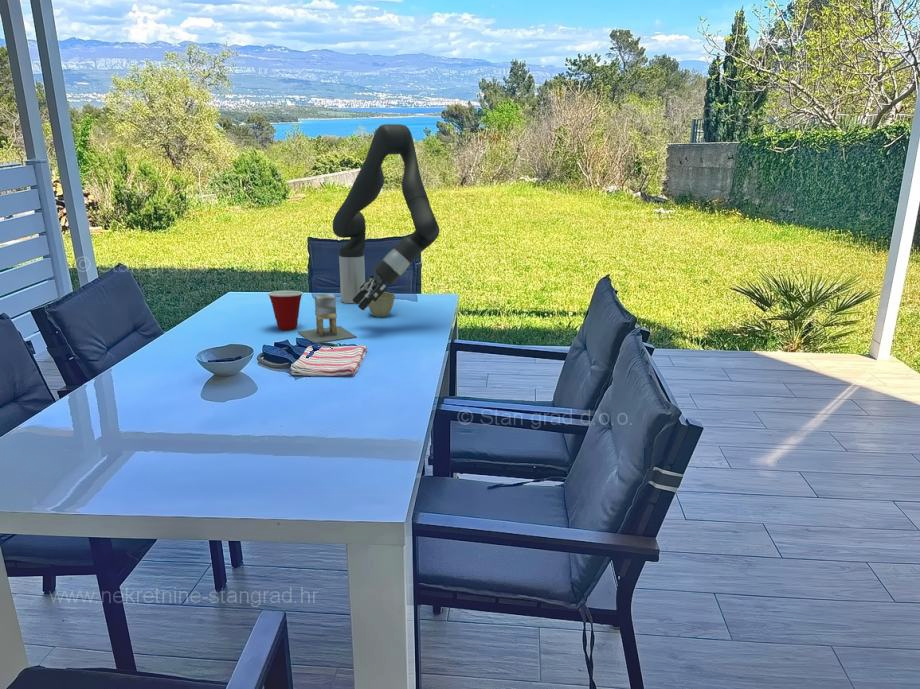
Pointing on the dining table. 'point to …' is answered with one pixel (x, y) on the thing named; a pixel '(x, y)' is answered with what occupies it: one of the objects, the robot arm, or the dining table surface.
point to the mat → (326, 335)
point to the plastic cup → (286, 308)
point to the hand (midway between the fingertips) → (357, 305)
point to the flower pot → (382, 305)
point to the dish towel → (330, 361)
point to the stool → (325, 312)
